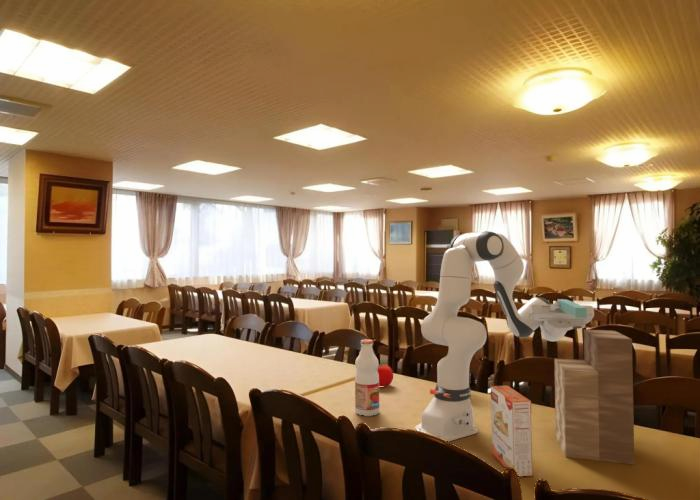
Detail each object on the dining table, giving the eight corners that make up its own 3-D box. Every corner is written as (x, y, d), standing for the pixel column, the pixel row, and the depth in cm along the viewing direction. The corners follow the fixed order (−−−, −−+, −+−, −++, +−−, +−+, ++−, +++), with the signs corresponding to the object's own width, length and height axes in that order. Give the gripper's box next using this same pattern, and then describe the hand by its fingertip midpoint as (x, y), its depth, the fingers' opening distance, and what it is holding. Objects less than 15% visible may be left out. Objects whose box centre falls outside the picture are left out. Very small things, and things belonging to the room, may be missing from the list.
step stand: (555, 436, 140) (553, 328, 141) (616, 442, 135) (614, 330, 136) (565, 456, 126) (563, 336, 126) (634, 464, 121) (631, 339, 122)
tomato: (363, 385, 197) (363, 363, 197) (380, 380, 205) (379, 359, 205) (382, 391, 188) (381, 368, 189) (398, 386, 196) (398, 364, 197)
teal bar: (557, 307, 150) (557, 299, 150) (566, 307, 149) (566, 299, 149) (575, 317, 125) (575, 307, 125) (586, 318, 124) (586, 307, 124)
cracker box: (490, 454, 128) (489, 385, 128) (509, 453, 128) (508, 384, 129) (512, 478, 114) (511, 400, 114) (533, 477, 114) (532, 400, 115)
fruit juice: (358, 407, 169) (357, 337, 170) (381, 408, 167) (380, 338, 167) (352, 415, 160) (352, 342, 160) (377, 417, 158) (376, 343, 158)
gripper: (527, 310, 161) (531, 294, 149) (587, 311, 155) (596, 296, 144) (528, 325, 157) (533, 311, 146) (589, 328, 152) (599, 313, 140)
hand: (565, 303), depth 145 cm, fingers closed on teal bar, 3 cm apart
